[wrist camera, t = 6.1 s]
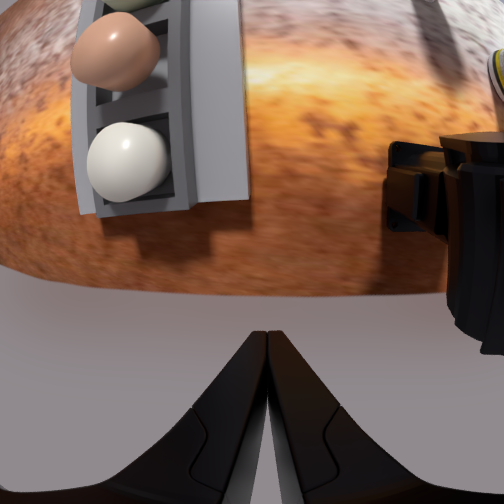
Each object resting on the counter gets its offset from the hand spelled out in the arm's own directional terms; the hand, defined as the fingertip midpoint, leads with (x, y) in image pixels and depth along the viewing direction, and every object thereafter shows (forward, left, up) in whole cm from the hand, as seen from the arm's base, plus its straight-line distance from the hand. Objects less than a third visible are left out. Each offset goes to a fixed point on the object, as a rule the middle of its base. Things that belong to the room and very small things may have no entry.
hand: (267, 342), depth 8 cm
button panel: (+7, -11, -12) cm, 18 cm away
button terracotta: (+7, -11, -7) cm, 15 cm away
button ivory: (+7, -5, -8) cm, 12 cm away
